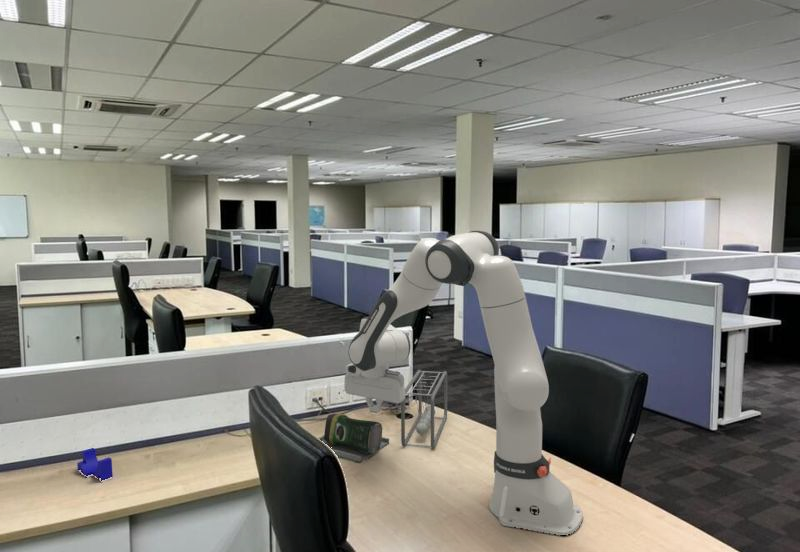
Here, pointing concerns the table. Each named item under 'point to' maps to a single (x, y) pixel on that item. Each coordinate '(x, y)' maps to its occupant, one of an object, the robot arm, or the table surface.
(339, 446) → the shallow gray tray
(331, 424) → the coffee jar
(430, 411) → the newton's cradle
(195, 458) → the table surface
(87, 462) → the cable clip
